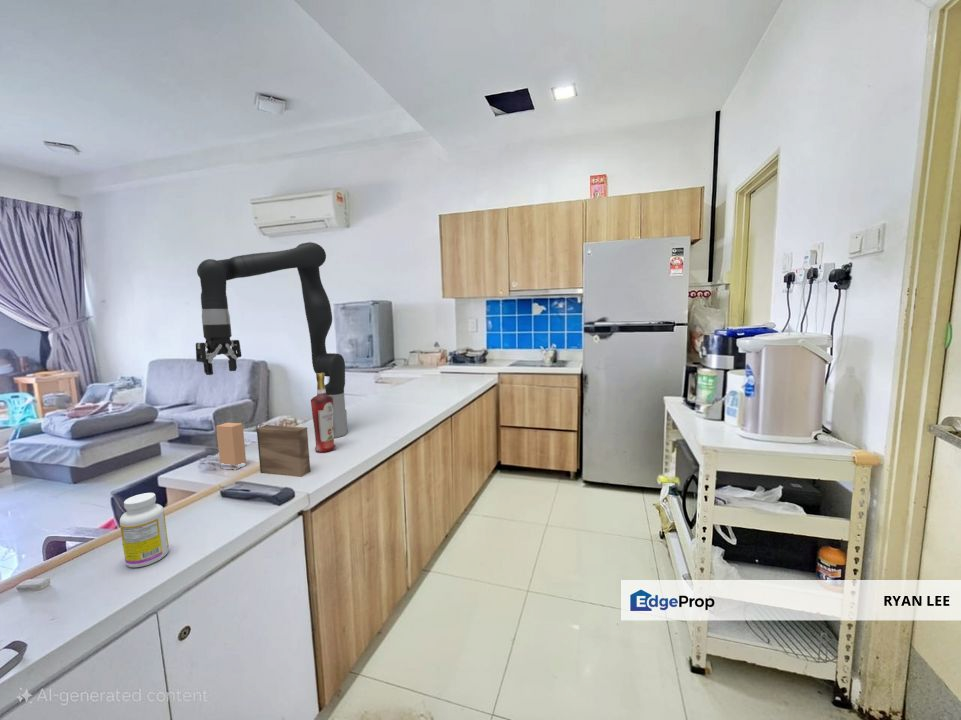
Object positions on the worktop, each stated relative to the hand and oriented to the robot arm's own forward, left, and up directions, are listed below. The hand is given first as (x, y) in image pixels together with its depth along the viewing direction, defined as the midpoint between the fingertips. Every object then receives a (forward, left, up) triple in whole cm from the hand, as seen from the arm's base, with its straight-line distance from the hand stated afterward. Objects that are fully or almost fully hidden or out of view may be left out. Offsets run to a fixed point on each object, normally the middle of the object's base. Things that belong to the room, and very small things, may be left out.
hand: (221, 372), depth 126 cm
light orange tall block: (+5, +7, -30) cm, 31 cm away
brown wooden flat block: (+5, +26, -30) cm, 40 cm away
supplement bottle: (+47, +30, -30) cm, 64 cm away
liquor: (-15, +26, -30) cm, 43 cm away
